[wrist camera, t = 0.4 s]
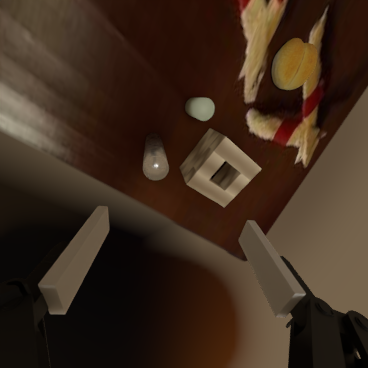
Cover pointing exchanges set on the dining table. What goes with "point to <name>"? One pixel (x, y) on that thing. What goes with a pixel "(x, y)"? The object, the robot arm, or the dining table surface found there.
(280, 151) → the dining table surface
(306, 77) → the bread roll
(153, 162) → the tall grey cylinder
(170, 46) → the dining table surface
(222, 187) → the beige hollow block
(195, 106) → the short pin
